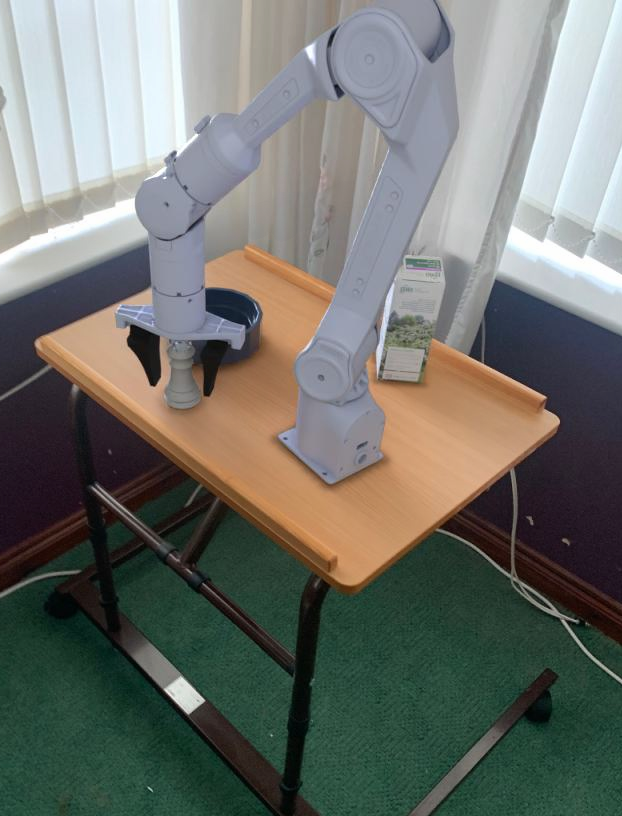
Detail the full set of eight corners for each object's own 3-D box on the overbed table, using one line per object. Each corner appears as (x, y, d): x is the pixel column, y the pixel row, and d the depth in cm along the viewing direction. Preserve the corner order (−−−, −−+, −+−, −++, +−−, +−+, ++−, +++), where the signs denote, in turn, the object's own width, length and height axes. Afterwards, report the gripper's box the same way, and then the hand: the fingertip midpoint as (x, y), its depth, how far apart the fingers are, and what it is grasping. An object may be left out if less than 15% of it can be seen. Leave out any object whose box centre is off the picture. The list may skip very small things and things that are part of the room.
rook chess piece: (183, 384, 97) (181, 328, 92) (208, 400, 95) (208, 344, 90) (156, 399, 95) (152, 343, 89) (181, 416, 93) (179, 360, 87)
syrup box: (419, 358, 102) (442, 253, 92) (422, 385, 98) (447, 280, 88) (375, 354, 103) (393, 250, 92) (376, 382, 99) (395, 276, 88)
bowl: (279, 349, 103) (281, 319, 100) (200, 381, 98) (200, 350, 95) (225, 307, 110) (226, 278, 107) (149, 334, 105) (147, 304, 101)
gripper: (254, 275, 85) (250, 378, 95) (127, 254, 88) (136, 357, 98) (236, 309, 81) (234, 413, 90) (103, 286, 83) (115, 390, 93)
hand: (182, 386), depth 94 cm, fingers open, 6 cm apart
